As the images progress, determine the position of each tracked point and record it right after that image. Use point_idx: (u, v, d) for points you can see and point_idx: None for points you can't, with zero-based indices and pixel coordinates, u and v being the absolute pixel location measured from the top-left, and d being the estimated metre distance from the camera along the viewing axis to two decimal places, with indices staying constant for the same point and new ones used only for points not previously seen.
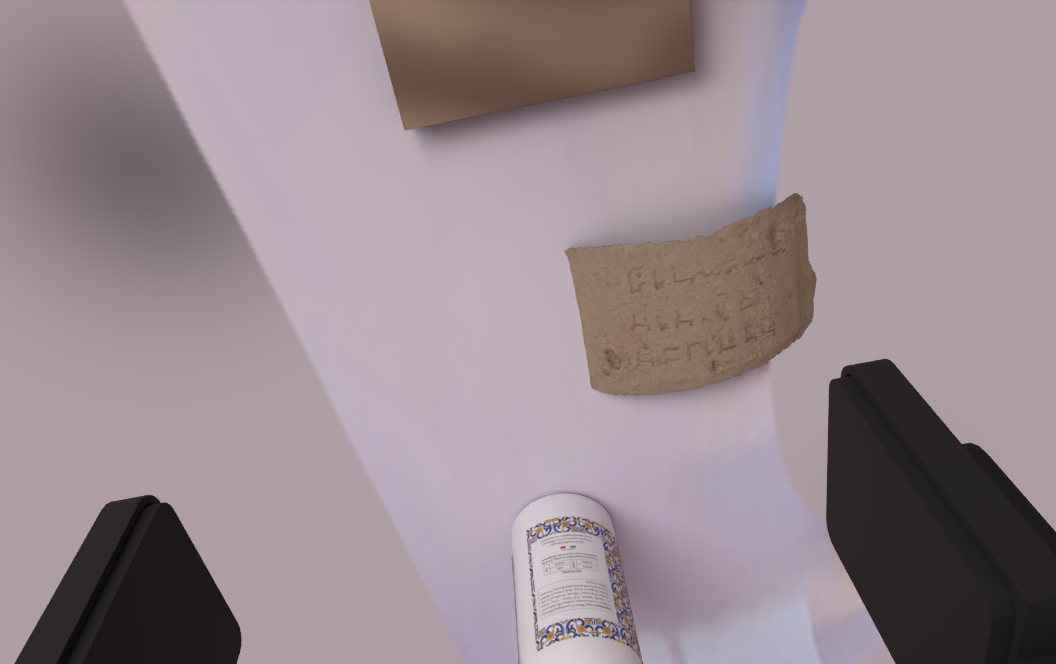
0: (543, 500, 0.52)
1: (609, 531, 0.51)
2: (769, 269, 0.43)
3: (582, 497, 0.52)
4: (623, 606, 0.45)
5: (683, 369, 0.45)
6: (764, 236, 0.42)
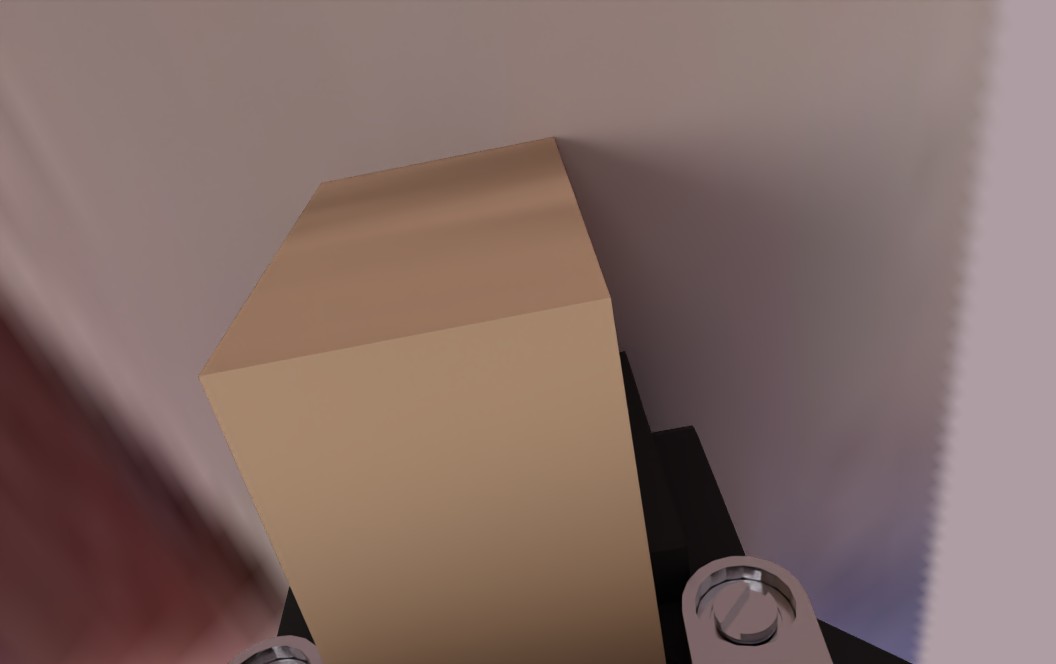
0: None
1: None
2: None
3: None
4: None
5: None
6: None
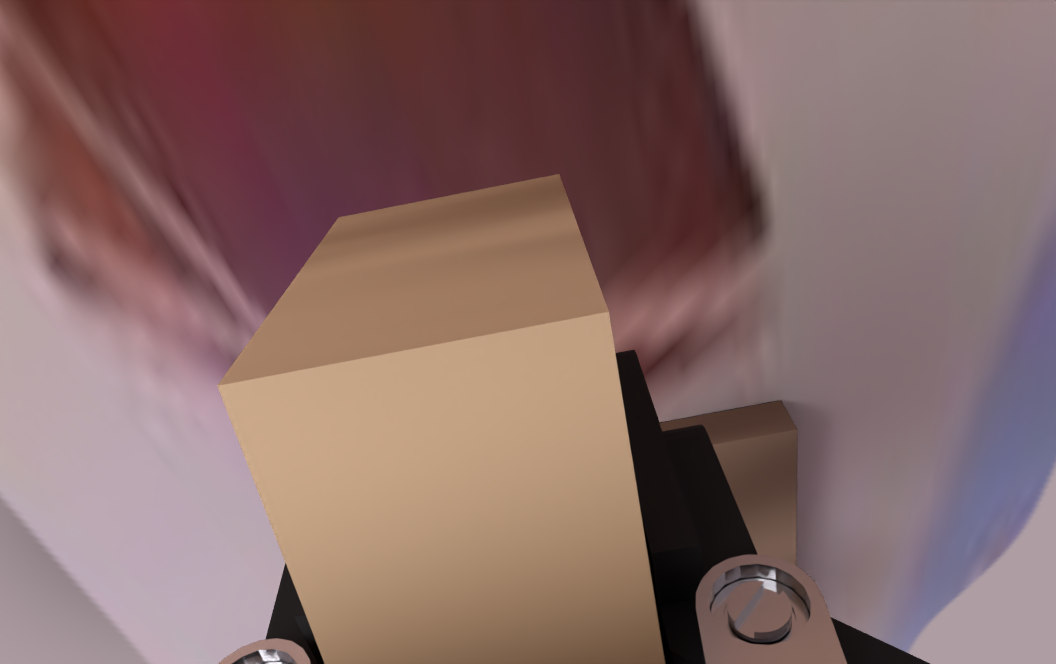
0: None
1: None
2: None
3: None
4: None
5: None
6: None
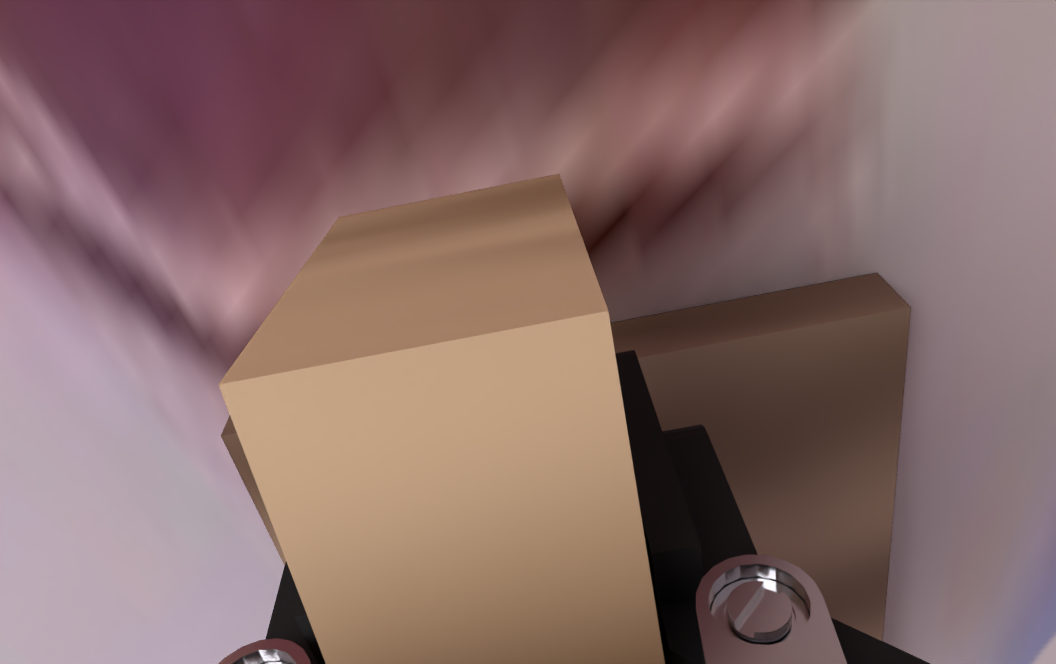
0: None
1: None
2: None
3: None
4: None
5: None
6: None
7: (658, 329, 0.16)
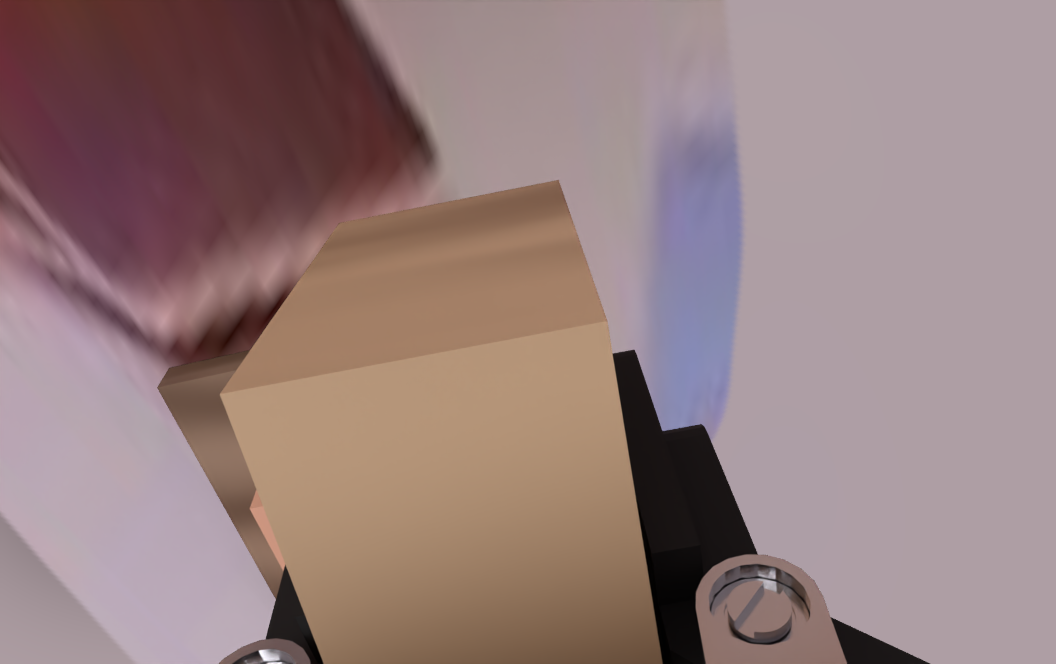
0: None
1: None
2: None
3: None
4: None
5: None
6: None
7: None
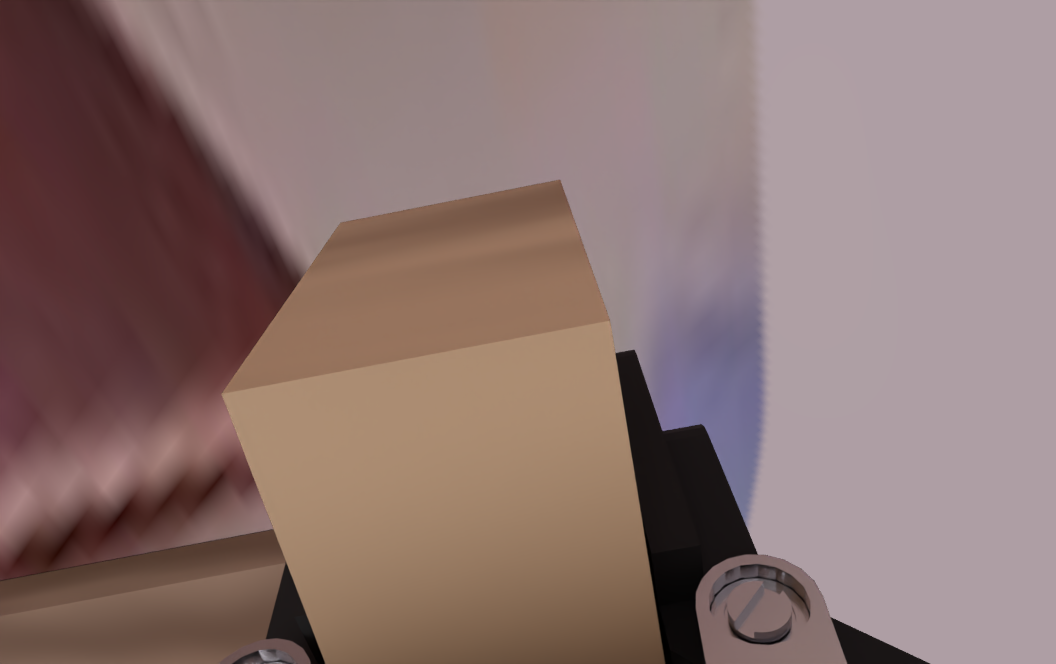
0: None
1: None
2: None
3: None
4: None
5: None
6: None
7: (256, 546, 0.24)
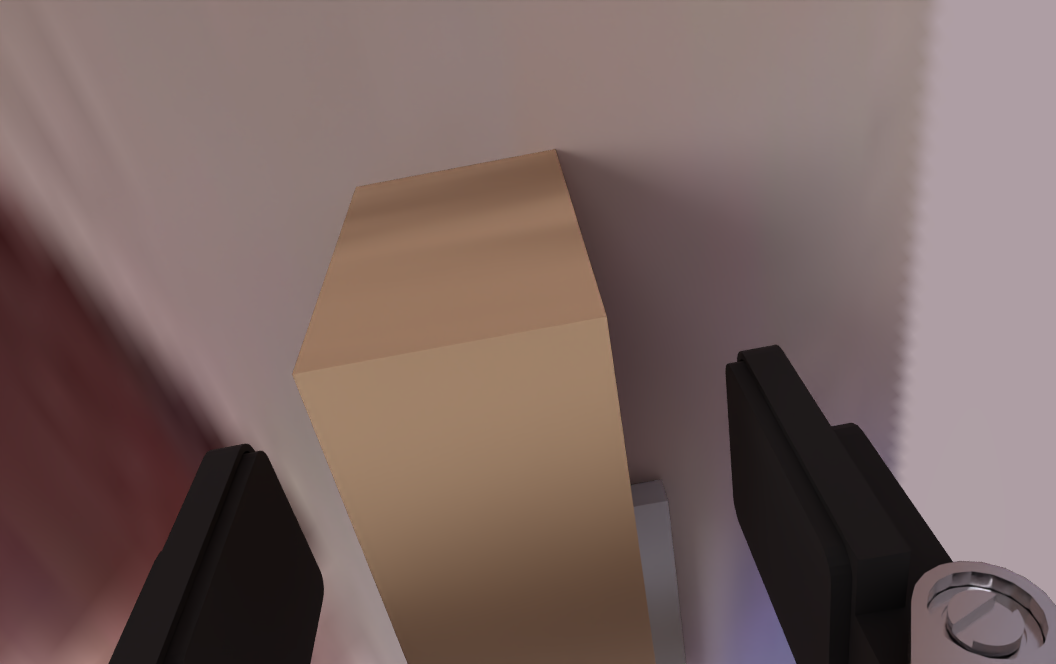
0: None
1: None
2: None
3: None
4: None
5: None
6: None
7: None
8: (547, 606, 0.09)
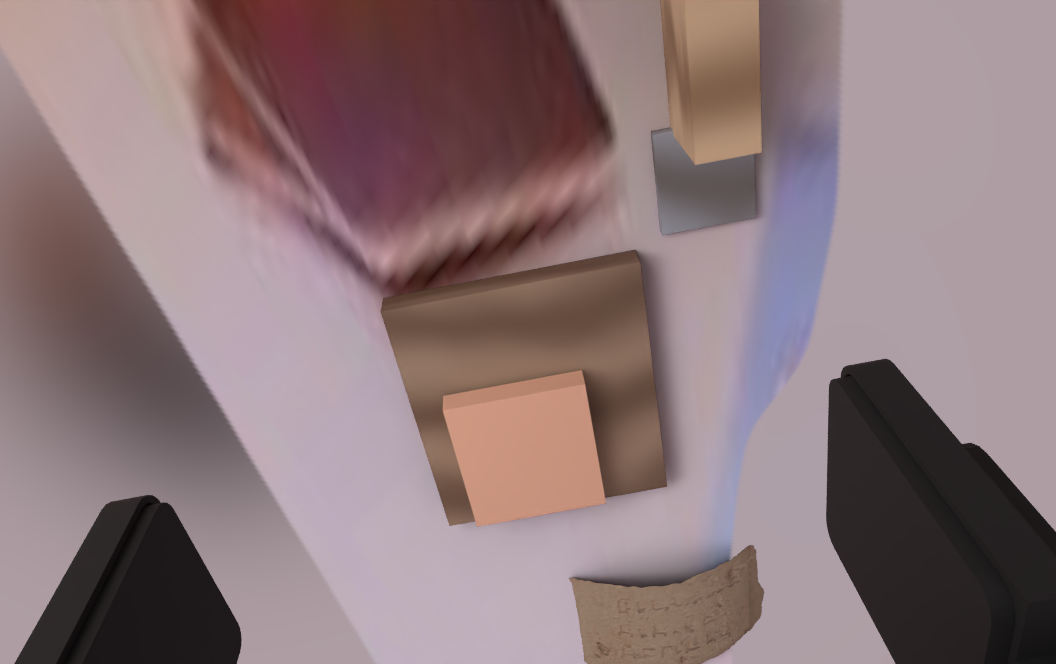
0: None
1: None
2: (726, 597, 0.56)
3: None
4: None
5: (657, 662, 0.58)
6: (723, 577, 0.55)
7: (548, 271, 0.43)
8: (733, 85, 0.34)
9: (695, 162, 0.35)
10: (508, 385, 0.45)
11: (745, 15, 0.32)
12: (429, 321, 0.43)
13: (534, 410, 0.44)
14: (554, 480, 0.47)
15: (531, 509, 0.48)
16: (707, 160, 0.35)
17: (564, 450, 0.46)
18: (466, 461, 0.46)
